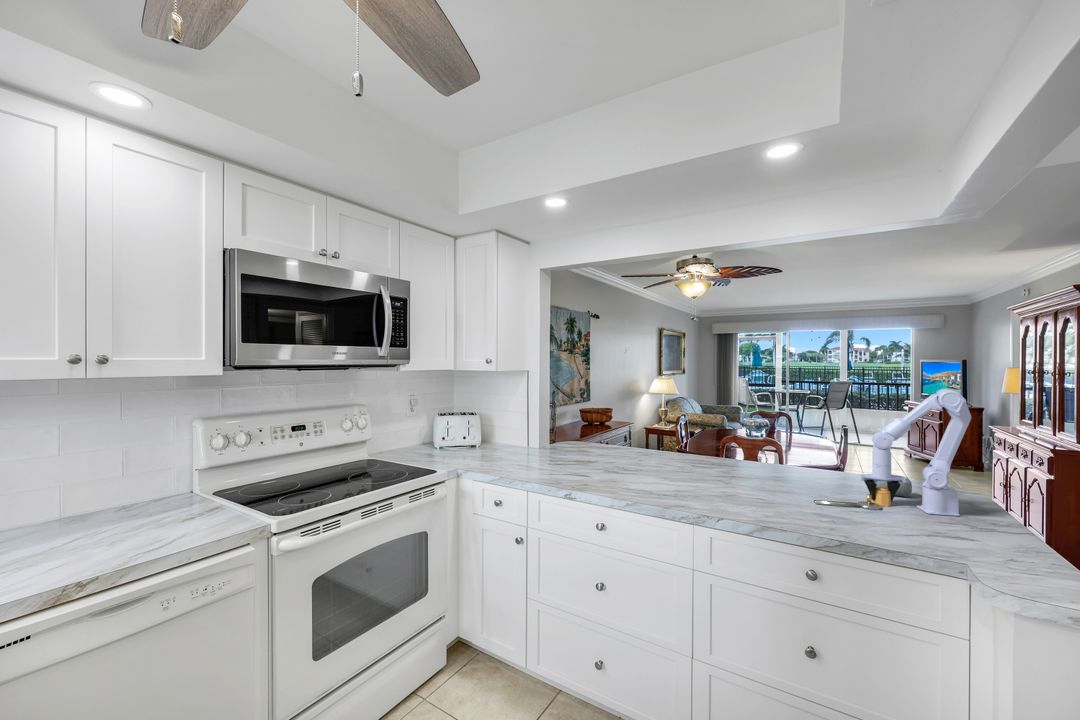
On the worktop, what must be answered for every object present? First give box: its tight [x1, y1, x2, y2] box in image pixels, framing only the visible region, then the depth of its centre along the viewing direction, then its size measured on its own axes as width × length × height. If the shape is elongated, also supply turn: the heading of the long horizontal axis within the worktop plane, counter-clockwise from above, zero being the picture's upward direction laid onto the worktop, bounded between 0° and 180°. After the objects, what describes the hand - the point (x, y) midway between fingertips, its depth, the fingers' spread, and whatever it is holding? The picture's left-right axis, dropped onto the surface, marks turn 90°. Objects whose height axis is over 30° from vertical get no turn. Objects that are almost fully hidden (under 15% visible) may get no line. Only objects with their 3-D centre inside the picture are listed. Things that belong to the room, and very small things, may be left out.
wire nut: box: [872, 487, 892, 507], centre depth 173 cm, size 5×5×6 cm
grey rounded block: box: [874, 473, 913, 498], centre depth 184 cm, size 14×10×10 cm
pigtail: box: [813, 493, 882, 511], centre depth 172 cm, size 21×7×4 cm, turn 75°
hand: (881, 500), depth 173 cm, fingers closed on wire nut, 5 cm apart
